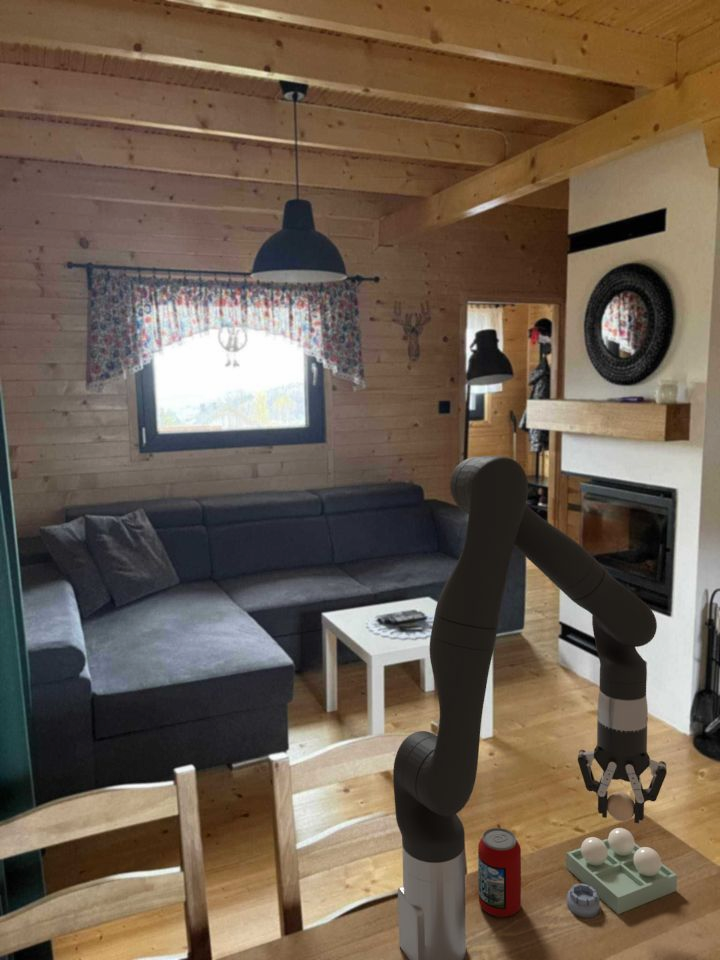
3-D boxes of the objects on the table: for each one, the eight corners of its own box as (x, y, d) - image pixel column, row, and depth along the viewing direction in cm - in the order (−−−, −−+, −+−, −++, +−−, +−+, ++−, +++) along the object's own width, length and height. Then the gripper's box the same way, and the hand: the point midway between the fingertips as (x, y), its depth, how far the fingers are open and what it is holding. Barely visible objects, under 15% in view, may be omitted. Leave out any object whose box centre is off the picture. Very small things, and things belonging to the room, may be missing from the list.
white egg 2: (620, 864, 126) (620, 840, 126) (602, 849, 130) (602, 826, 130) (640, 857, 128) (640, 833, 127) (621, 842, 132) (622, 820, 131)
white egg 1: (592, 874, 124) (593, 850, 123) (575, 859, 128) (575, 835, 127) (613, 866, 125) (613, 843, 125) (595, 852, 129) (595, 829, 129)
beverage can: (470, 899, 121) (469, 832, 120) (504, 887, 124) (504, 820, 123) (494, 926, 115) (494, 855, 114) (529, 912, 118) (529, 843, 117)
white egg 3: (646, 885, 121) (647, 860, 120) (627, 869, 125) (627, 845, 124) (667, 877, 122) (667, 853, 122) (647, 862, 126) (647, 838, 126)
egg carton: (617, 914, 117) (618, 897, 117) (566, 868, 129) (566, 852, 128) (676, 890, 122) (676, 874, 122) (621, 848, 133) (622, 833, 133)
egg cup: (581, 921, 116) (581, 906, 115) (560, 901, 120) (560, 887, 120) (606, 911, 118) (606, 896, 117) (585, 892, 122) (585, 878, 122)
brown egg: (619, 829, 117) (620, 804, 116) (600, 815, 121) (600, 790, 120) (641, 822, 119) (641, 797, 118) (621, 808, 123) (621, 783, 122)
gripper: (670, 714, 118) (667, 813, 121) (577, 702, 123) (576, 797, 126) (671, 735, 111) (668, 840, 114) (573, 722, 117) (572, 822, 119)
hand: (620, 817), depth 120 cm, fingers closed on brown egg, 4 cm apart
